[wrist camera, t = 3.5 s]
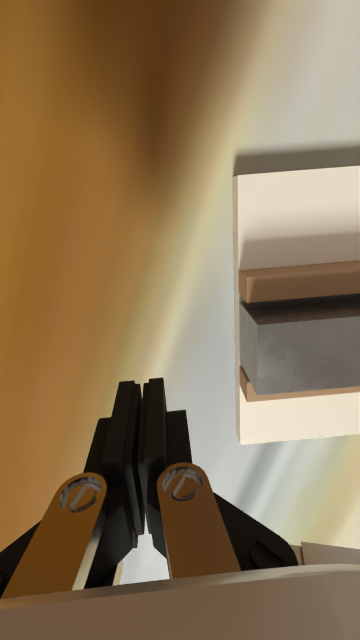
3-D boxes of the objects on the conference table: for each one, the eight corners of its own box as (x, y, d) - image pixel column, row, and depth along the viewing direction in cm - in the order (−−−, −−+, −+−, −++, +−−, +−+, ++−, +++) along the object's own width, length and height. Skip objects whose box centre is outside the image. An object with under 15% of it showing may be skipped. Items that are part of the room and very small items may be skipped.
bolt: (433, 284, 19) (500, 303, 15) (420, 344, 20) (479, 375, 16) (239, 301, 19) (257, 324, 15) (239, 360, 20) (256, 396, 16)
